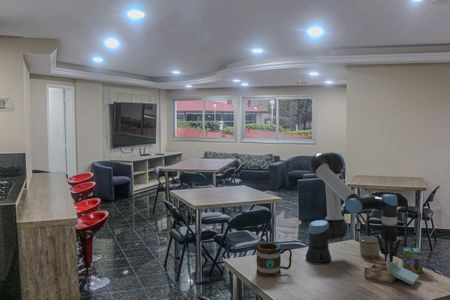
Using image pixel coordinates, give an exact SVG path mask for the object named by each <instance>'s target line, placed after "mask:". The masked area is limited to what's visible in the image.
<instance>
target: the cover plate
mask: <svg viewBox="0 0 450 300" xmlns="http://www.w3.org/2000/svg"><path fill="white" fill-rule="evenodd" d="M398 262H399V260H398V259H394V260H393V262H391V264H390V266H389V269H388V270H387V272H390V273H392V275H393V276H395V277H397V279H399V280H400V281H401V280H402V281H403V282H405V283H407V284H409V285H411V286H414V284H415V283H416V282H417V280H418V279H419V277H420V275H419V273H415V272H411V271H409V270H407V269H405V268H403V267H402V265H399V264H398Z"/></svg>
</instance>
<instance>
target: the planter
mask: <svg viewBox="0 0 450 300" xmlns="http://www.w3.org/2000/svg"><path fill="white" fill-rule="evenodd" d="M358 240H359V253H360V255H361V257H364V258H369V259H375V258H378V257H379V256H380V253H381V250H380V246H379V242H378V239H377V237H376V236H370V235H369V236H367V235H365V236H360V237H359V239H358Z"/></svg>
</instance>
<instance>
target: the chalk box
mask: <svg viewBox="0 0 450 300" xmlns="http://www.w3.org/2000/svg"><path fill="white" fill-rule="evenodd" d="M401 248H402V249H401V252H402V253H401V254H402V256H401V257H402V258H401V260H402V261H401V262H402V263H401V267H403V268H405V269H407V270H409V271H411V272H413V273H415V274H423V271H424V270H423V269H424V268H423V266H424V265H423V256H424V255H423V252H422V251H421V249H420V248H418V247H413V246H412V244H411V242H409V247H401Z"/></svg>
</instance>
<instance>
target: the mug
mask: <svg viewBox="0 0 450 300" xmlns="http://www.w3.org/2000/svg"><path fill="white" fill-rule="evenodd" d="M281 248H282V246H281V245H279V244H277V243H271V242H265V243H264V242H263V243H259V244H257V245H256V275H258V276H259V277H261V278H267V277H269V278H268V279H271V278H270V277H272V278H277V277H276V276H278V277H279V276H280V275H281V269H282V270H290V269H291V267H292V255H293V253H292V249H291V248H288V247H286V248H284V249H282V250H281ZM286 251H289V258H288V266H283V265H281V262H282V259H281V255H282V254H284V253H285V252H286ZM279 274H280V275H279Z"/></svg>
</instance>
